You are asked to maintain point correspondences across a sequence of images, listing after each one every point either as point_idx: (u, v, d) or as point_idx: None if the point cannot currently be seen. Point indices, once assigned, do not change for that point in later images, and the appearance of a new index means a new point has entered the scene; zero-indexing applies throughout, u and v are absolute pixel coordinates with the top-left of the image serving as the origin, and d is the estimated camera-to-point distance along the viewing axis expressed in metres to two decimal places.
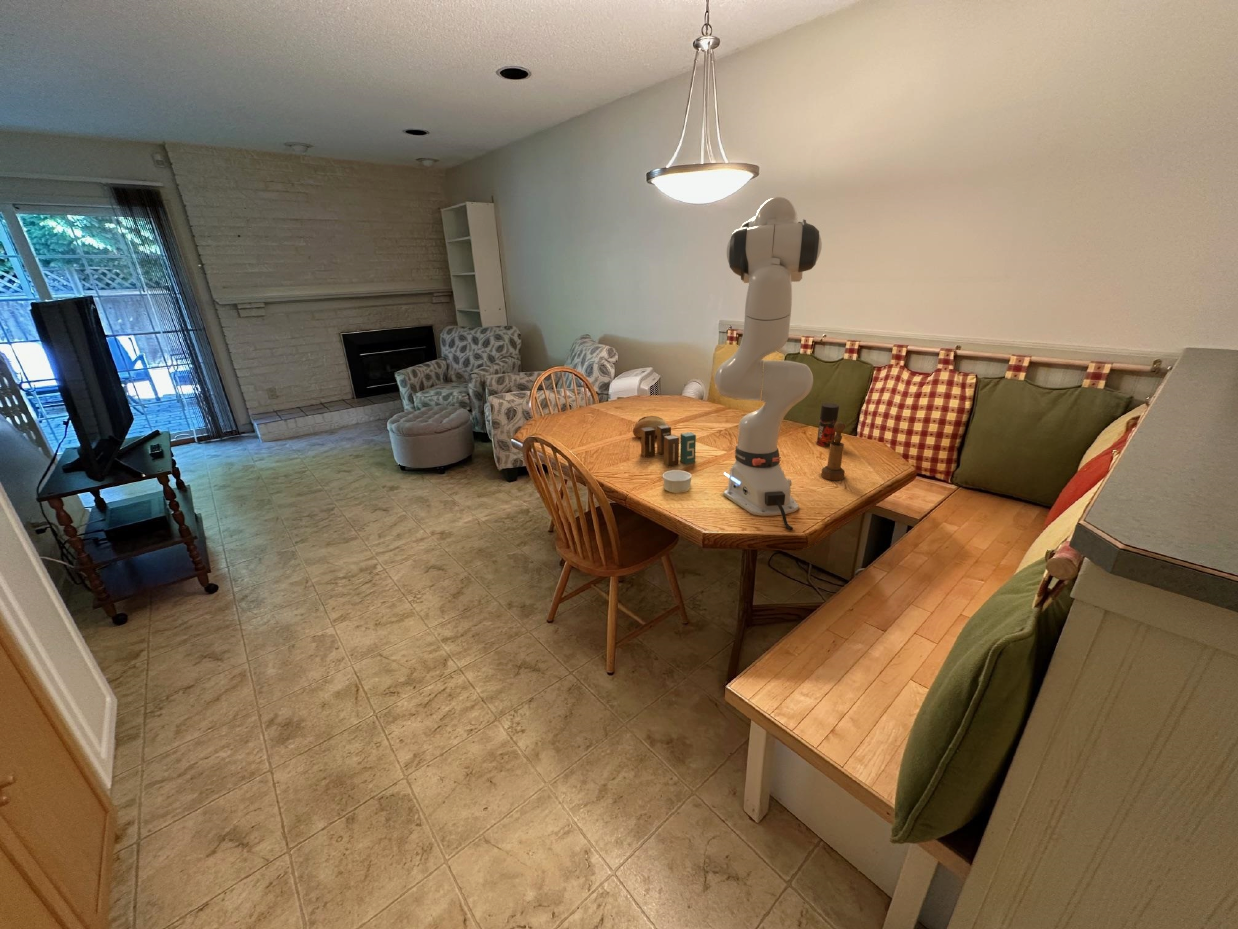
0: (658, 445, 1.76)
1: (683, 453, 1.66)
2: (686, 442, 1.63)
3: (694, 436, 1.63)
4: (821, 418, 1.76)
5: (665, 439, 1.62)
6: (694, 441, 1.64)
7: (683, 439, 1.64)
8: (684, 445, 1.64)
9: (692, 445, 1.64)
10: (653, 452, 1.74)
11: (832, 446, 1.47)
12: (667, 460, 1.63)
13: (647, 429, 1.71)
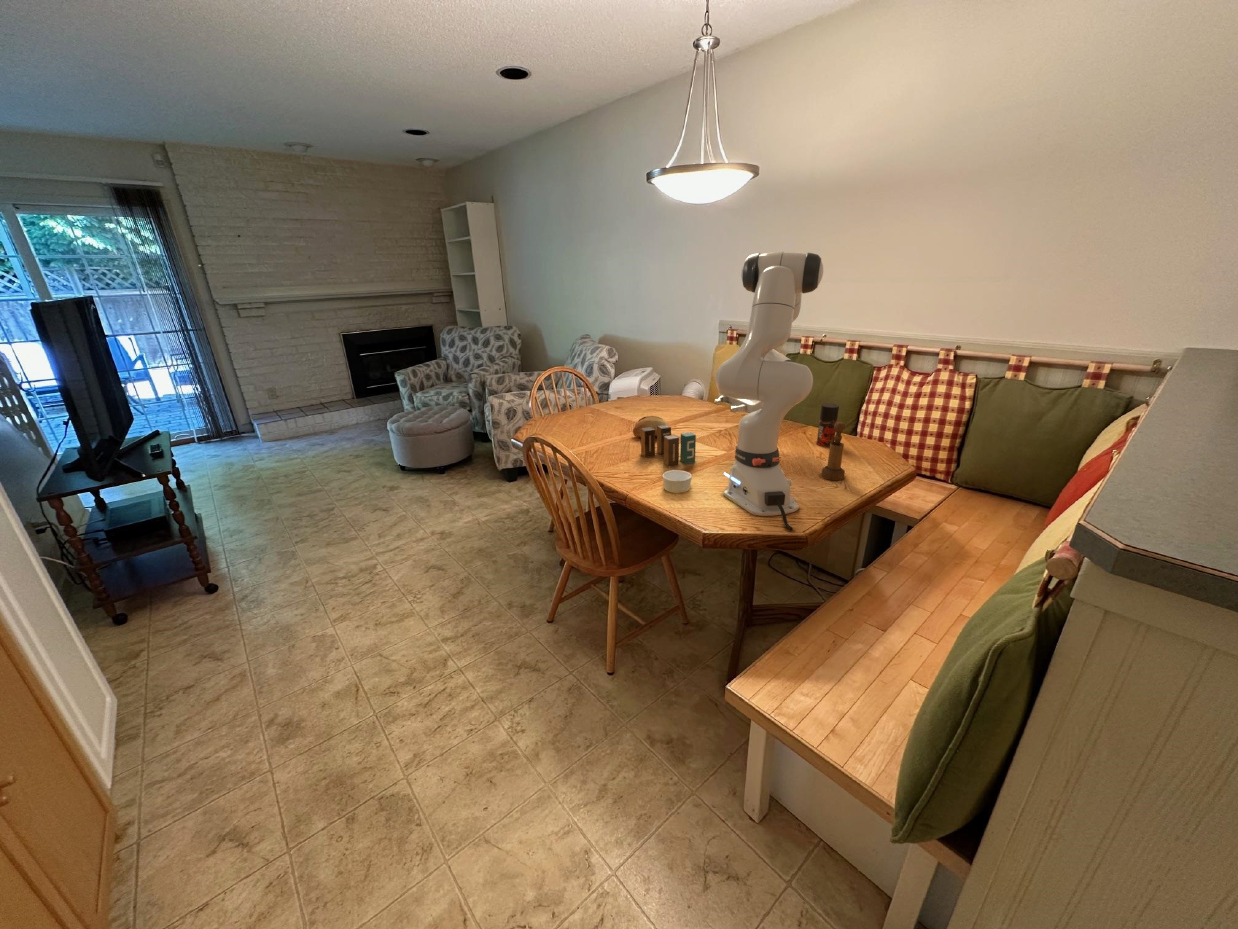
0: (658, 445, 1.76)
1: (683, 453, 1.66)
2: (686, 442, 1.63)
3: (694, 436, 1.63)
4: (821, 418, 1.76)
5: (665, 439, 1.62)
6: (694, 441, 1.64)
7: (683, 439, 1.64)
8: (684, 445, 1.64)
9: (692, 445, 1.64)
10: (653, 452, 1.74)
11: (832, 446, 1.47)
12: (667, 460, 1.63)
13: (647, 429, 1.71)
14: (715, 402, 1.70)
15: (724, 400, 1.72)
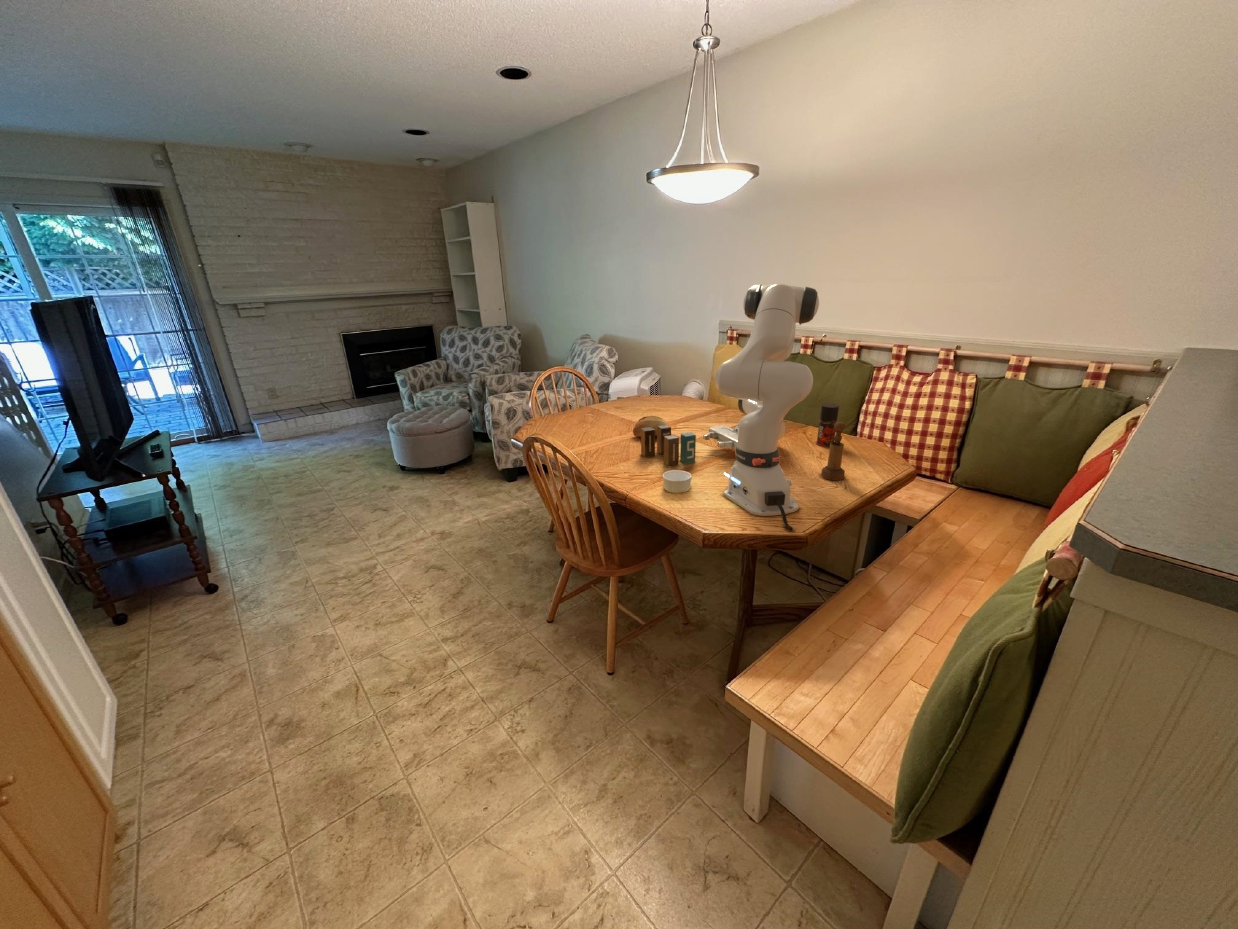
0: (658, 445, 1.76)
1: (683, 453, 1.66)
2: (686, 442, 1.63)
3: (694, 436, 1.63)
4: (821, 418, 1.76)
5: (665, 439, 1.62)
6: (694, 441, 1.64)
7: (683, 439, 1.64)
8: (684, 445, 1.64)
9: (692, 445, 1.64)
10: (653, 452, 1.74)
11: (832, 446, 1.47)
12: (667, 460, 1.63)
13: (647, 429, 1.71)
14: (704, 437, 1.73)
15: (713, 436, 1.75)
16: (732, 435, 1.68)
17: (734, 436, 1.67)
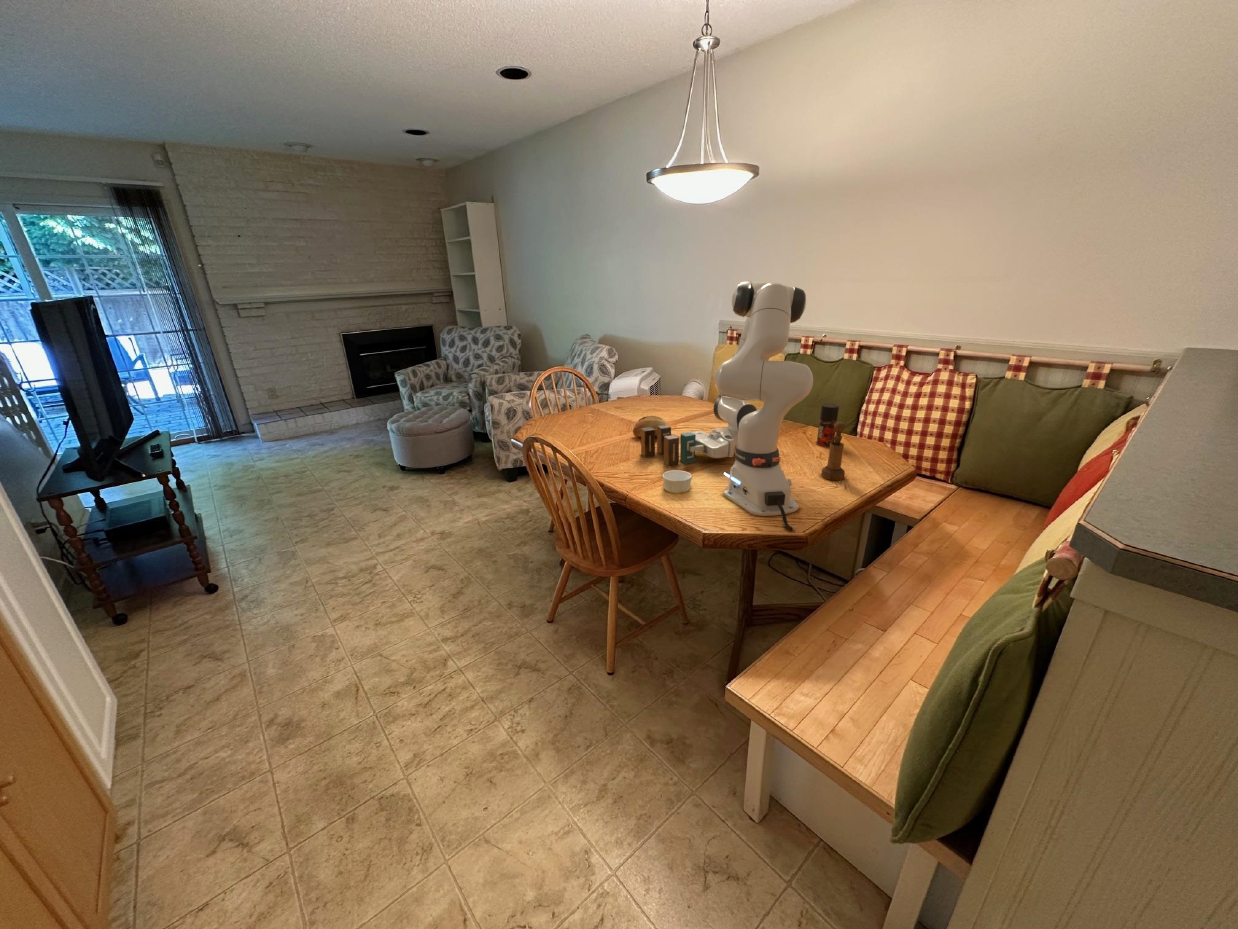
0: (658, 445, 1.76)
1: (682, 453, 1.66)
2: (686, 442, 1.63)
3: (694, 436, 1.63)
4: (821, 418, 1.76)
5: (665, 439, 1.62)
6: (694, 441, 1.64)
7: (683, 439, 1.64)
8: (684, 444, 1.64)
9: None
10: (653, 452, 1.74)
11: (832, 446, 1.47)
12: (667, 460, 1.63)
13: (647, 429, 1.71)
14: None
15: None
16: (707, 441, 1.65)
17: (709, 442, 1.64)
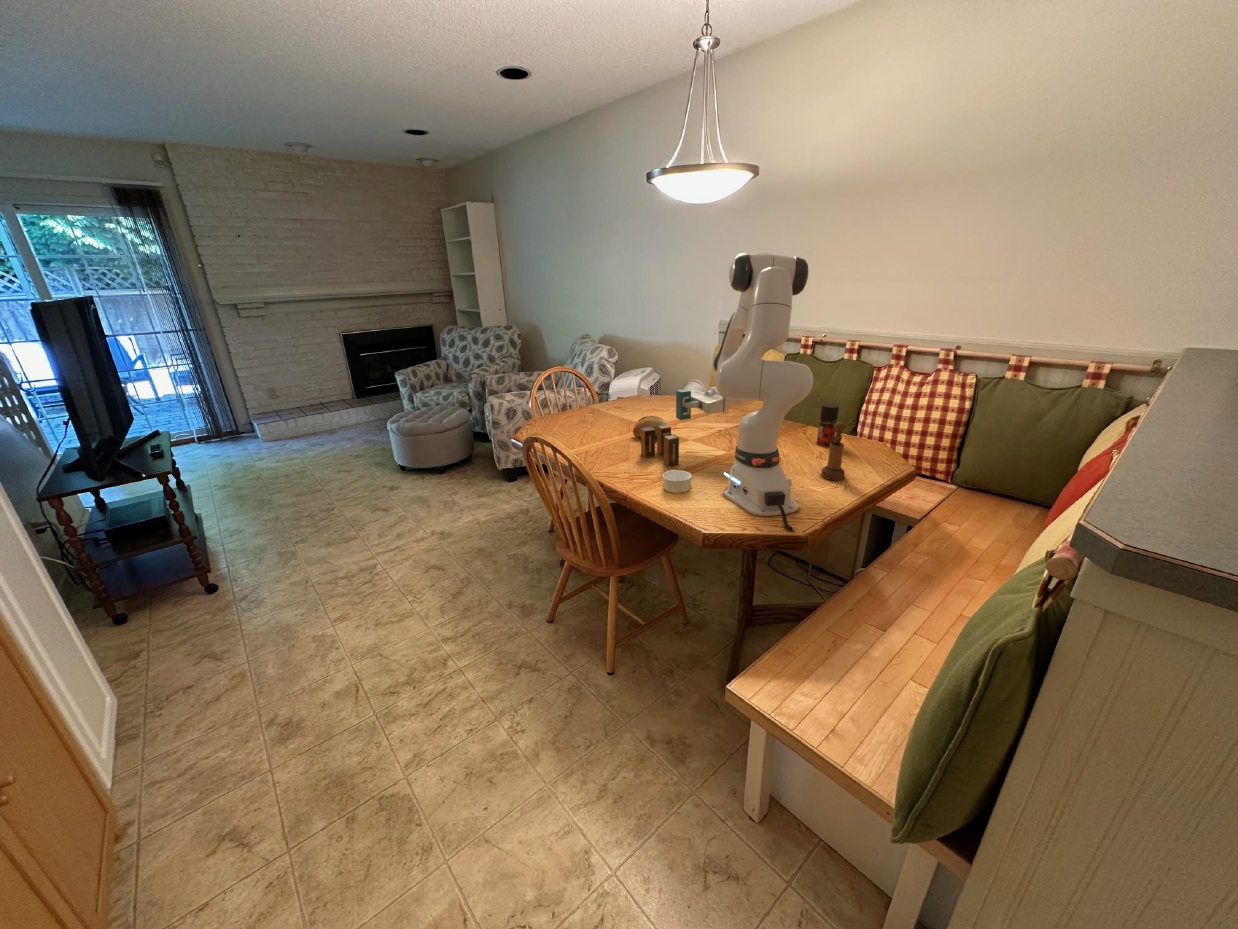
0: (658, 445, 1.76)
1: (678, 410, 1.68)
2: (682, 398, 1.65)
3: (689, 392, 1.66)
4: (821, 418, 1.76)
5: (665, 439, 1.62)
6: (690, 397, 1.66)
7: (679, 395, 1.66)
8: (680, 401, 1.66)
9: None
10: (653, 452, 1.74)
11: (832, 446, 1.47)
12: (667, 460, 1.63)
13: (647, 429, 1.71)
14: None
15: None
16: (702, 397, 1.67)
17: (704, 398, 1.66)
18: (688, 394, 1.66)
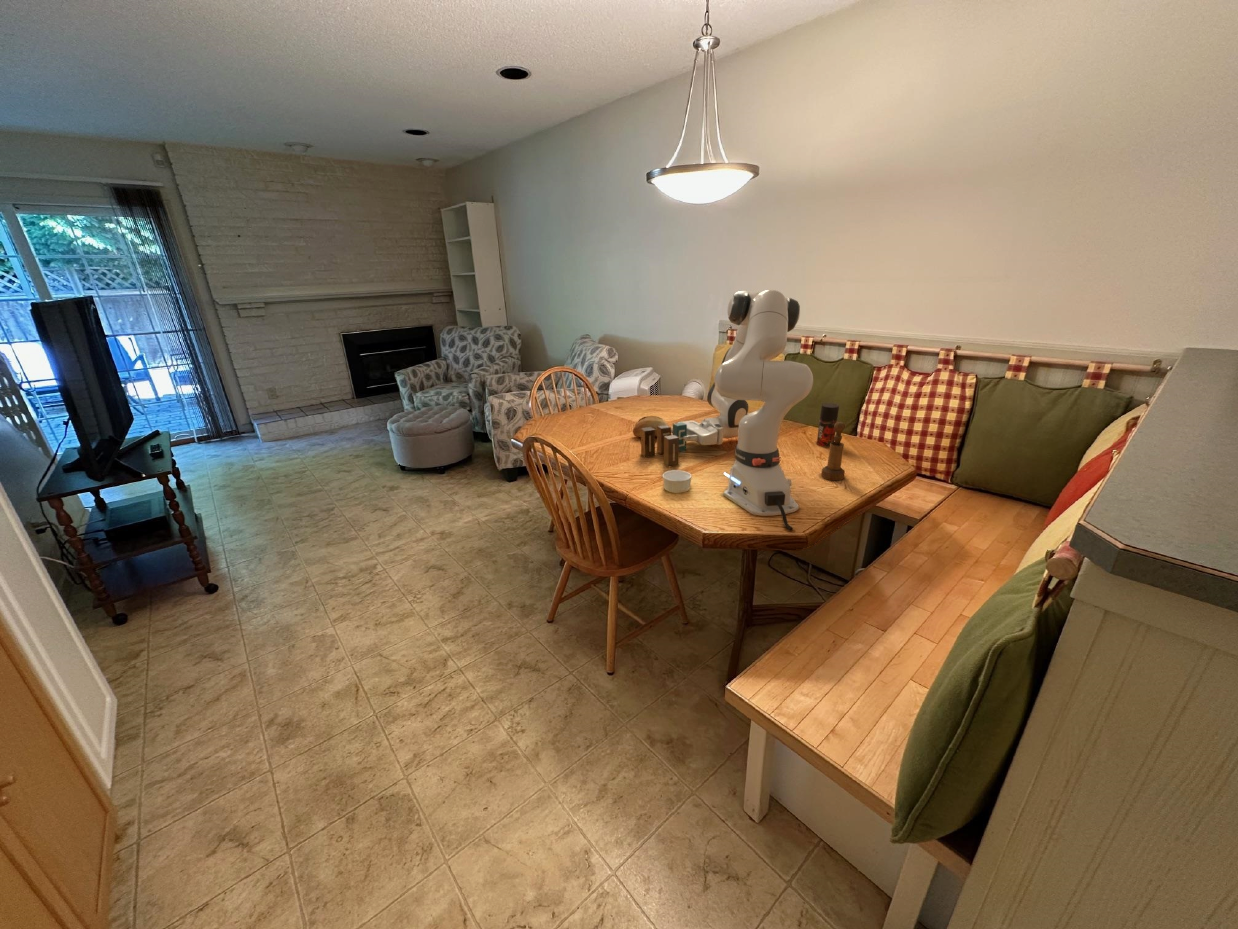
0: (658, 445, 1.76)
1: None
2: (678, 431, 1.75)
3: (685, 425, 1.75)
4: (821, 418, 1.76)
5: (665, 439, 1.62)
6: (685, 430, 1.76)
7: (675, 428, 1.75)
8: (676, 433, 1.75)
9: (683, 434, 1.76)
10: (653, 452, 1.74)
11: (832, 446, 1.47)
12: (667, 460, 1.63)
13: (647, 429, 1.71)
14: (671, 431, 1.81)
15: None
16: (697, 429, 1.77)
17: (699, 430, 1.75)
18: (684, 427, 1.75)
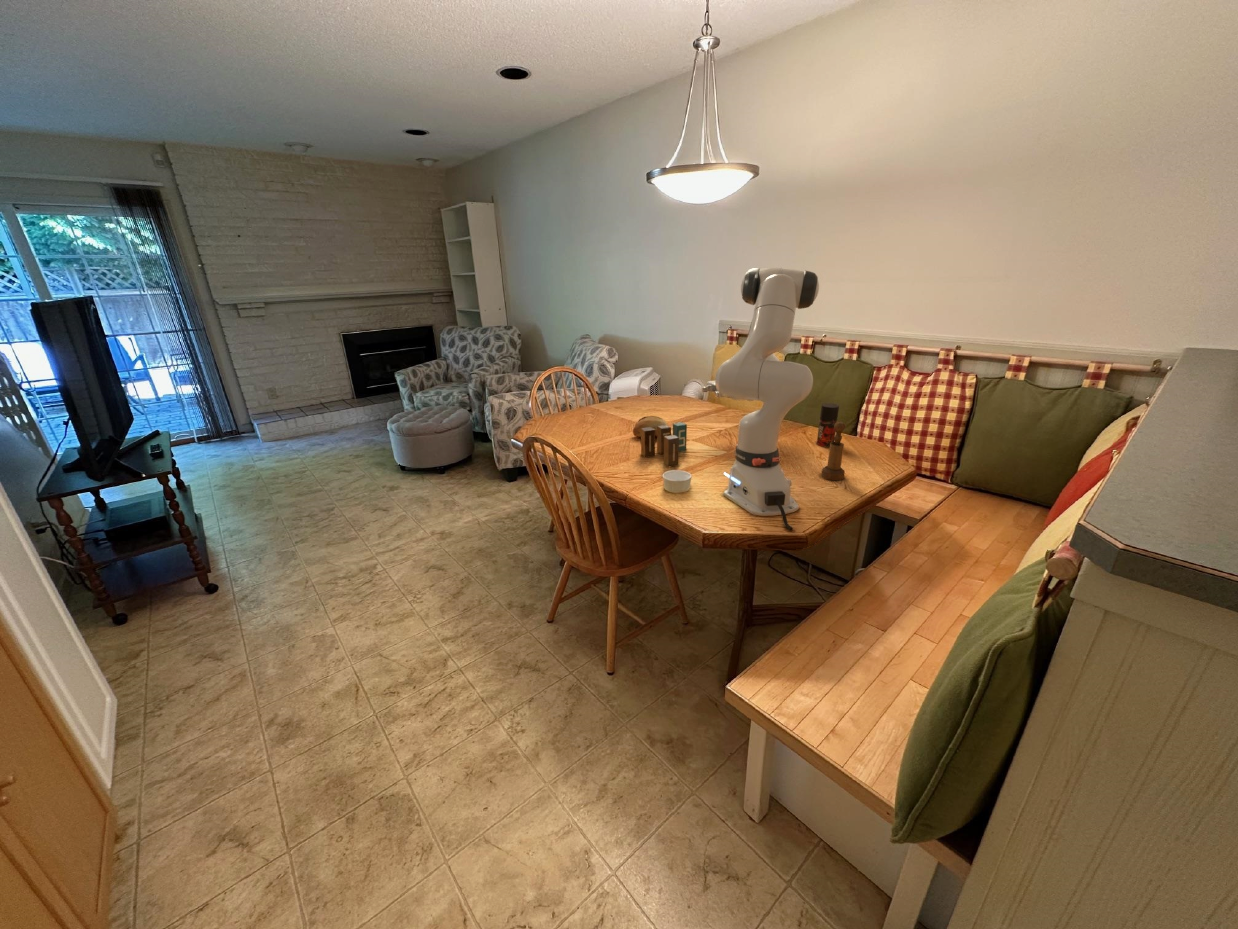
0: (658, 445, 1.76)
1: None
2: (678, 431, 1.75)
3: (685, 425, 1.75)
4: (821, 418, 1.76)
5: (665, 439, 1.62)
6: (685, 430, 1.76)
7: (675, 428, 1.75)
8: (676, 433, 1.75)
9: (683, 434, 1.76)
10: (653, 452, 1.74)
11: (832, 446, 1.47)
12: (667, 460, 1.63)
13: (647, 429, 1.71)
14: (702, 389, 1.80)
15: (711, 389, 1.82)
16: None
17: None
18: (684, 427, 1.75)
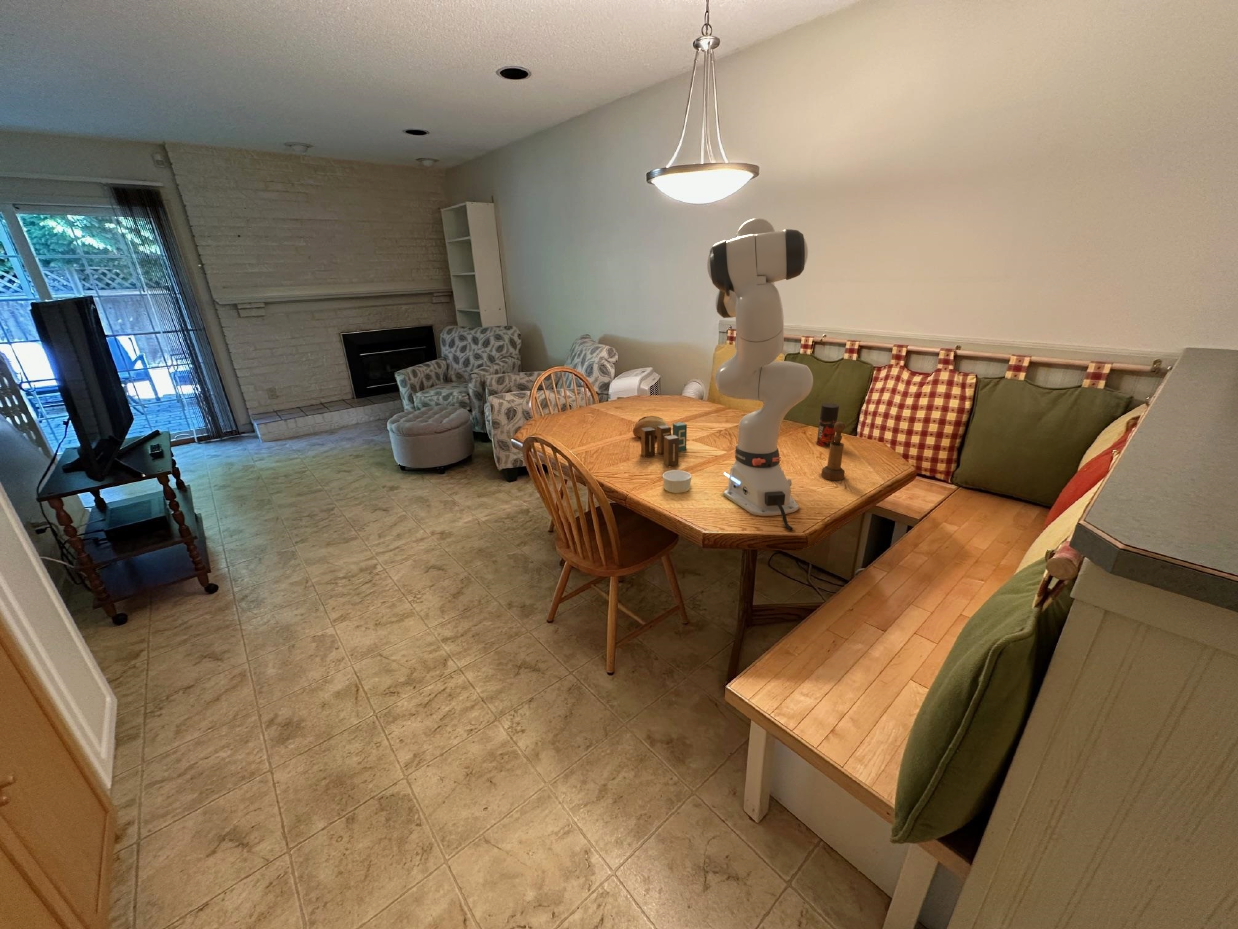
0: (658, 445, 1.76)
1: None
2: (678, 431, 1.75)
3: (685, 425, 1.75)
4: (821, 418, 1.76)
5: (665, 439, 1.62)
6: (685, 430, 1.76)
7: (675, 428, 1.75)
8: (676, 433, 1.75)
9: (683, 434, 1.76)
10: (653, 452, 1.74)
11: (832, 446, 1.47)
12: (667, 460, 1.63)
13: (647, 429, 1.71)
14: None
15: None
16: None
17: None
18: (684, 427, 1.75)
